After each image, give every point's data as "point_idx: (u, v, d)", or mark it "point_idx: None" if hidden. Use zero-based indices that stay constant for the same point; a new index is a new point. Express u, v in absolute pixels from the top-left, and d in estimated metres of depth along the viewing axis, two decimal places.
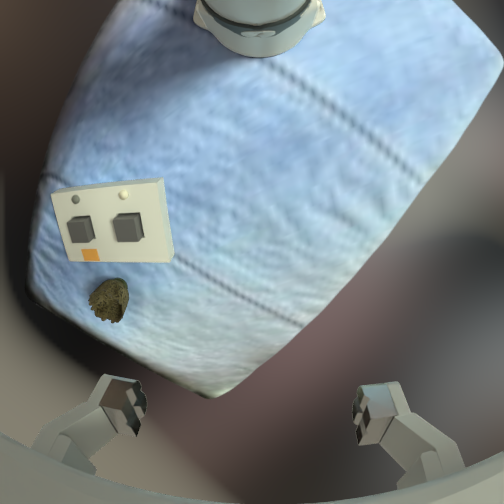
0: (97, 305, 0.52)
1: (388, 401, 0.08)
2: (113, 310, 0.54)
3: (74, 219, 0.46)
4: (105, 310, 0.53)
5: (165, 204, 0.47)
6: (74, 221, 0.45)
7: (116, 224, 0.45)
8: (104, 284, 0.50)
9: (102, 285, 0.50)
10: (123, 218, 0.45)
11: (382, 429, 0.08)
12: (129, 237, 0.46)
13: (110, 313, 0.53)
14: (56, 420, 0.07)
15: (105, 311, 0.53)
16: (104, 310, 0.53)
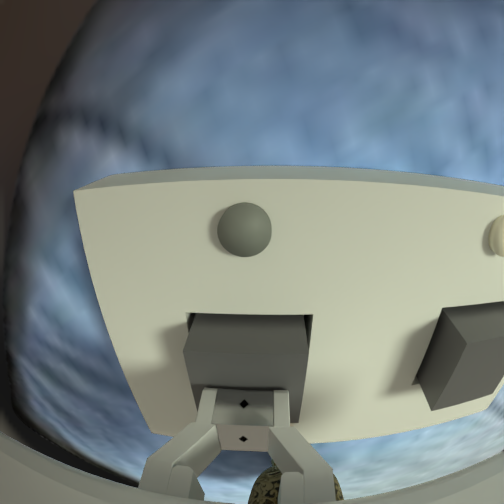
0: None
1: (268, 409, 0.08)
2: None
3: (219, 327, 0.10)
4: None
5: None
6: (235, 345, 0.09)
7: (469, 358, 0.09)
8: None
9: None
10: (493, 328, 0.09)
11: (262, 438, 0.08)
12: (479, 388, 0.09)
13: None
14: (161, 448, 0.07)
15: None
16: None
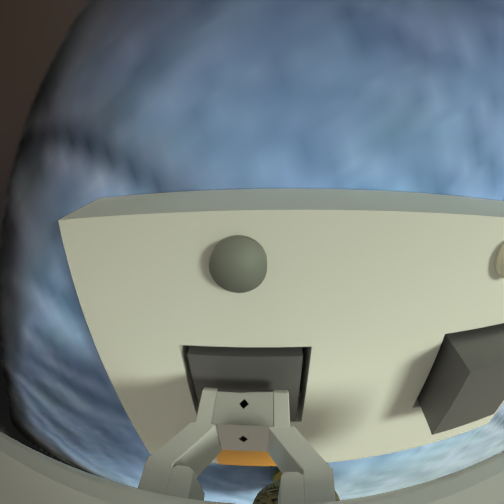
0: None
1: (268, 409, 0.08)
2: None
3: None
4: None
5: None
6: (235, 349, 0.10)
7: (471, 385, 0.08)
8: None
9: None
10: (497, 353, 0.08)
11: (262, 438, 0.08)
12: (481, 411, 0.09)
13: None
14: (161, 448, 0.07)
15: None
16: None
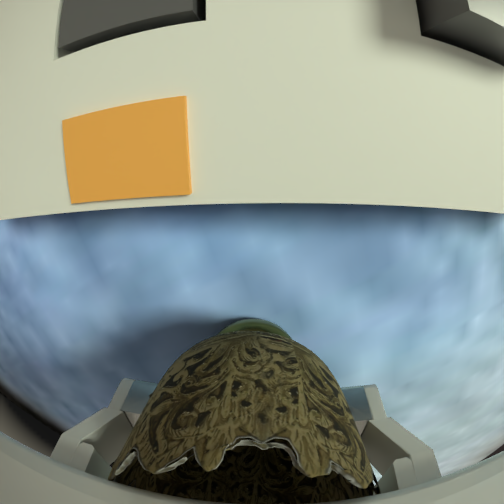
0: None
1: (363, 404, 0.08)
2: (235, 471, 0.10)
3: None
4: (194, 475, 0.09)
5: None
6: None
7: None
8: (228, 377, 0.07)
9: (214, 386, 0.06)
10: None
11: None
12: None
13: (226, 489, 0.09)
14: (75, 427, 0.07)
15: (200, 482, 0.09)
16: (191, 480, 0.09)
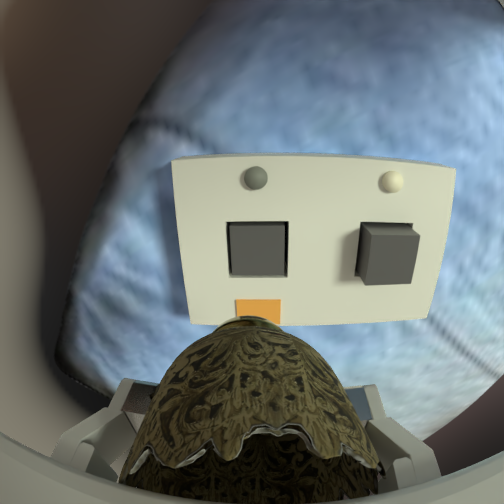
0: (159, 468, 0.08)
1: (363, 404, 0.08)
2: (237, 466, 0.10)
3: None
4: (196, 473, 0.09)
5: None
6: (252, 224, 0.22)
7: (377, 246, 0.20)
8: (235, 370, 0.07)
9: (223, 379, 0.07)
10: (393, 232, 0.20)
11: None
12: (396, 274, 0.21)
13: (229, 484, 0.09)
14: (76, 427, 0.07)
15: (203, 479, 0.09)
16: (195, 478, 0.09)
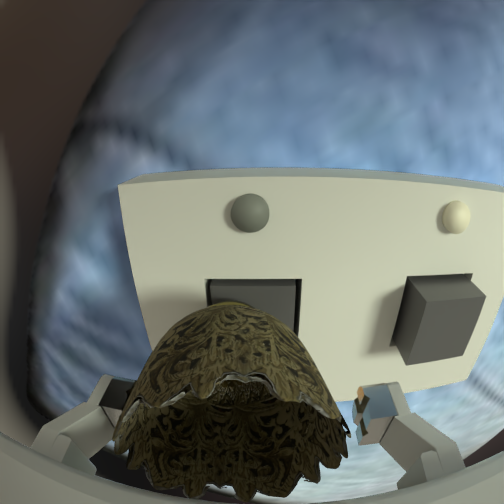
0: (150, 436, 0.09)
1: (388, 401, 0.08)
2: (221, 439, 0.11)
3: None
4: (184, 445, 0.11)
5: None
6: (245, 282, 0.14)
7: (431, 316, 0.12)
8: (213, 334, 0.09)
9: (202, 341, 0.08)
10: (452, 293, 0.12)
11: (382, 429, 0.08)
12: (448, 348, 0.13)
13: (214, 456, 0.11)
14: (56, 420, 0.07)
15: (190, 450, 0.10)
16: (183, 449, 0.10)
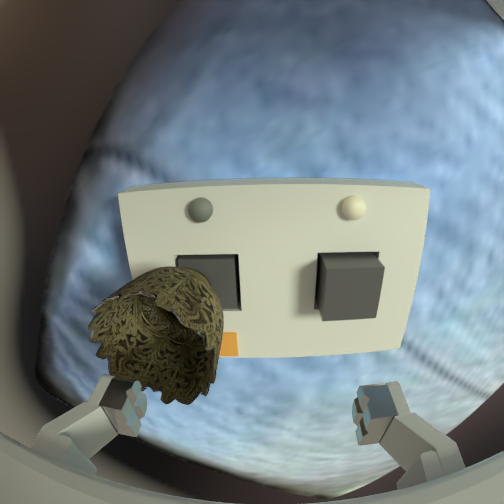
0: (118, 343, 0.17)
1: (388, 401, 0.08)
2: (167, 361, 0.18)
3: None
4: (141, 359, 0.18)
5: None
6: (201, 257, 0.21)
7: (334, 280, 0.19)
8: (149, 276, 0.15)
9: (142, 279, 0.15)
10: (353, 264, 0.19)
11: (382, 429, 0.08)
12: (358, 309, 0.20)
13: (158, 370, 0.17)
14: (56, 420, 0.07)
15: (144, 362, 0.18)
16: (139, 360, 0.17)
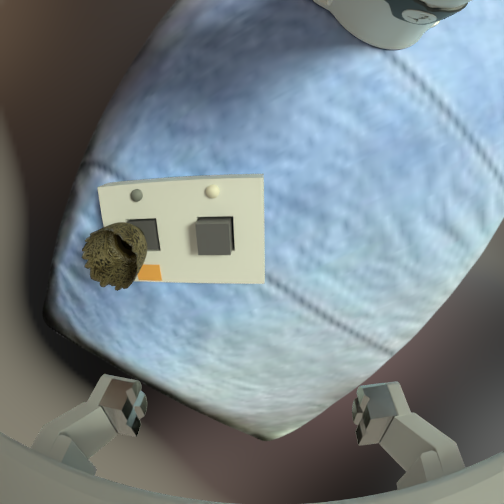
0: (95, 262, 0.33)
1: (388, 401, 0.08)
2: (120, 273, 0.35)
3: None
4: (107, 272, 0.34)
5: None
6: (139, 220, 0.38)
7: (200, 230, 0.35)
8: (111, 225, 0.32)
9: (108, 226, 0.32)
10: (211, 222, 0.35)
11: (382, 429, 0.08)
12: (217, 249, 0.36)
13: (115, 277, 0.34)
14: (56, 420, 0.07)
15: (108, 273, 0.34)
16: (105, 272, 0.34)
